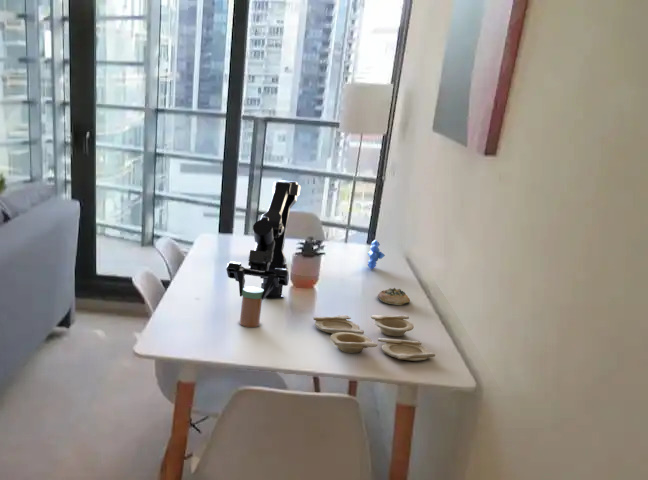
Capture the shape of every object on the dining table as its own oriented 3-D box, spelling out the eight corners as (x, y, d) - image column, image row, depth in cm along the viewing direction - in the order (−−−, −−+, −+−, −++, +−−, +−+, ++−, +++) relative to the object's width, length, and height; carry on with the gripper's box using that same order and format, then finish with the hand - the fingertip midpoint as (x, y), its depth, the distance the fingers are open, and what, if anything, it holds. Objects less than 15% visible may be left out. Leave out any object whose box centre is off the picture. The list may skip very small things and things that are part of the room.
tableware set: (310, 319, 228) (311, 307, 226) (402, 323, 228) (404, 311, 226) (332, 360, 196) (334, 346, 194) (440, 366, 196) (443, 352, 194)
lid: (239, 297, 216) (240, 291, 215) (242, 291, 221) (243, 285, 221) (262, 299, 214) (262, 293, 213) (264, 293, 220) (265, 287, 219)
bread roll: (382, 293, 258) (386, 280, 256) (412, 303, 253) (416, 290, 250) (371, 301, 250) (375, 288, 247) (402, 312, 245) (406, 299, 242)
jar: (254, 320, 225) (257, 287, 221) (262, 326, 219) (266, 293, 215) (236, 321, 223) (239, 288, 219) (244, 327, 218) (247, 294, 214)
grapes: (381, 273, 286) (386, 243, 281) (363, 271, 288) (368, 241, 283) (383, 266, 296) (388, 237, 291) (366, 264, 298) (371, 236, 293)
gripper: (230, 235, 217) (218, 279, 212) (291, 242, 212) (280, 288, 207) (234, 255, 227) (222, 298, 222) (293, 263, 222) (282, 306, 217)
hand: (251, 297), depth 217 cm, fingers closed on lid, 6 cm apart
